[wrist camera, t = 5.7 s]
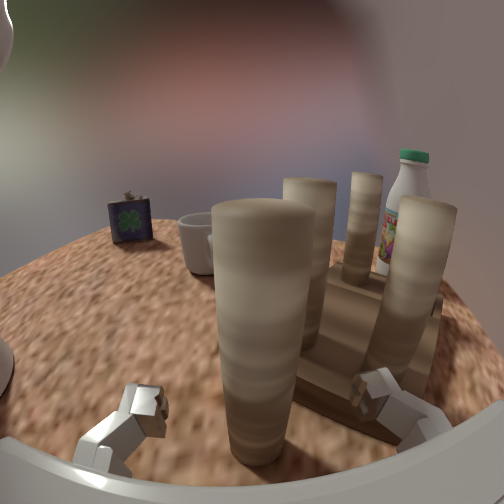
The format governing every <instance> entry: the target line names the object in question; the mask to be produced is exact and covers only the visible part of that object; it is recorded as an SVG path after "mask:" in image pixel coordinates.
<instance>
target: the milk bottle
mask: <svg viewBox="0 0 504 504" xmlns="http://www.w3.org/2000/svg"><path fill="white" fill-rule="evenodd" d="M400 158H401V159H400V163H401V169H400V172H399V175H398V177H397V180H396V181H395V183H394V185H393V187H392V189H391V191H390V193H389V196H388V199H387V204H386V211H385V217H384V224H383V230H382V237H381V243H380V249H379V254H378V260H377V266H376V271H377V273H378V274H382V275H385V276H387V275H388V270H389V266H390V261H391V256H392V251H393V245H394V240H395V234H396V227H397V221H398V214H399V206H400V198H401V196H402V195H412V196H419V197H425V198H429V199H432V198H431V194H430V190H429V186H428V182H427V174H426V170H427V167H428V164H427V163H429V154H428V153H425V152H421V151H416V150H410V149H401V150H400ZM405 159H406V160H405ZM411 160H412V161H411ZM416 161H418V162H416ZM422 162H423V163H422Z"/></svg>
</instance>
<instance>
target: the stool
mask: <svg viewBox="0 0 504 504" xmlns="http://www.w3.org/2000/svg"><path fill="white" fill-rule="evenodd" d="M283 181H284V183H283V200H289V201H295V202H299V203H303V204H306V205H309V206H311V207H313V208H314V209H315V210H316V218H315V231H314V243H313V254H312V264H311V274H310V283H309V292H308V300H307V308H306V316H305V324H304V331H303V338H302V344H301V351H300V357H299V364H298V370H297V376H296V381H295V387H294V393H293V398H292V400H294V401H296V402H298V403H300V404H302V405H304V406H306V407H308V408H310V409H312V410H314V411H316V412H318V413H320V414H322V415H324V416H326V417H328V418H330V419H333V420H335V421H337V422H339V423H341V424H344V425H346V426H348V427H350V428H353V429H355V430H357V431H360V432H362V433H365V434H367V435H370V436H372V437H375V438H377V439H380V440H382V441H385V442H388V443H390V444H393V445H396V446H397V445H398V444H399V443H400V442H401V441H402V439H401V438H399V437H398V436H397V435H395V434H394V433H393V432H391V431H390V430H389V429H387V428H386V427H385V426H384V425H382V424H381V423H380V422H378V421H377V420H376V419H373V420H369V421H365V422H361V423H359V420H358V418H357V416H356V413H355V410H356V407H355V406H353V405H352V404H351V402H350V398H349V389H350V386H351V385H352V384H353V383H354V380H353V379H354V376H355V375H356V374H357V373H361V372H366V371H370V370H376V369H380V368H384V367H386V368H388V369H389V371H390V373H391V374H392V376H393V377H394V379H395V380H396V382H397V384H398V385H399V387H400V388H401V390H402V391H404V390H405V391H407V392H409V393H410V394H412V395H414V396H416V397H418V398H420V399H423V396H424V393H425V389H426V386H427V382H428V378H429V374H430V370H431V366H432V362H433V358H434V353H435V348H436V343H437V338H438V332H439V326H440V320H441V313H442V305H443V297H444V293H441V292H438V290H439V287H440V283H441V280H442V276H443V273H444V269H445V265H446V261H447V258H448V253H449V249H450V245H451V240H452V235H453V230H454V225H455V219H456V213H457V208H456V207H454V206H452V205H450V204H447V203H444V202H440V201H437V200H433V199H429V198H425V197H419V196H412V195H402V196H401V198H400V206H399V214H398V221H397V227H396V234H395V240H394V245H393V251H392V256H391V261H390V266H389V270H388V275H387V276H385V275H382V274H378V273H375V272H371V271H370V270H371V264H372V259H373V253H374V247H375V241H376V234H377V227H378V220H379V212H380V204H381V193H382V183H383V176H381V175H377V174H370V173H363V172H352V184H351V197H350V209H349V218H348V227H347V236H346V244H345V251H344V259H343V263H341V262H337V263H336V264H334V265H333V266H332V267H331V268H329V262H330V253H331V245H332V235H333V225H334V215H335V203H336V202H335V201H336V189H337V183H336V182H334V181H330V180H325V179H317V178H303V177H301V178H300V177H293V178H285V179H284V180H283Z"/></svg>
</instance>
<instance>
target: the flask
mask: <svg viewBox="0 0 504 504" xmlns="http://www.w3.org/2000/svg"><path fill="white" fill-rule="evenodd" d="M124 195H125V200H117V201H112V202H109V203H108V210H109V218H110V228H111V234H112V241H113V243H116V244H121V243H130V242H135V241H137V242H138V241H144V240H145V241H149V240H152V239H153V232H152V223H151V214H150V212H151V211H150V201H149V198H148V197H142V196H140V197H139V198H135V197H137V196H133V195H130V190H129V191H127V192H125V193H124Z"/></svg>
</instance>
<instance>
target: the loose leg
mask: <svg viewBox="0 0 504 504" xmlns="http://www.w3.org/2000/svg"><path fill="white" fill-rule="evenodd" d="M211 217H212V242H213V263H214V281H215V297H216V311H217V325H218V337H219V349H220V360H221V371H222V381H223V391H224V400H225V409H226V417H227V426H228V434H229V442H230V449H231V452H232V454H233V456H234V457H235V458H236V459H237V460H238V461H239V462H241V463H243V464H245V465H248V466H264V465H267V464H270V463H272V462H273V461H275V460H276V459H277V458H278V457H279V455H280V453H281V451H282V447H283V442H284V438H285V433H286V428H287V423H288V418H289V413H290V408H291V403H292V398H293V393H294V387H295V381H296V376H297V370H298V364H299V357H300V351H301V344H302V338H303V331H304V324H305V316H306V308H307V300H308V292H309V283H310V274H311V264H312V254H313V243H314V231H315V218H316V210H315V209H314V208H313V207H311V206H309V205H306V204H303V203H299V202H295V201H289V200H281V199H267V198H252V199H238V200H231V201H226V202H222V203H219V204H216V205H214V206H213V207H212V208H211Z"/></svg>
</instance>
